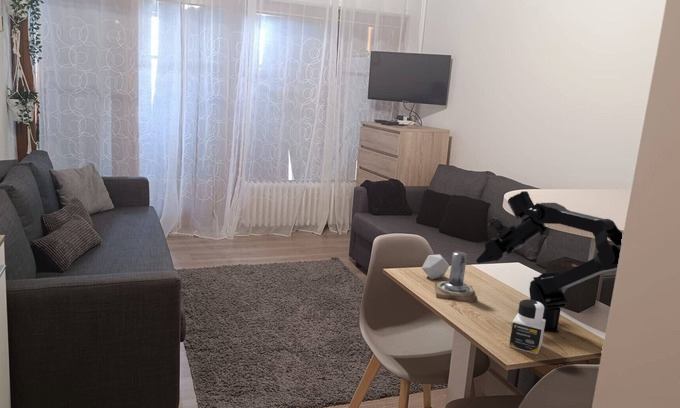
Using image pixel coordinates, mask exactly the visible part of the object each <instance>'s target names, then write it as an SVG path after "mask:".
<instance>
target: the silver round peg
mask: <svg viewBox="0 0 680 408" xmlns="http://www.w3.org/2000/svg"><path fill="white" fill-rule="evenodd" d="M467 257H468V253H466V252H463V251H453V252H452V258H451V264H450V270H449V273H450V274H449V279H447V280H444V281H445V285H444V289H445V290H448V291H452V292H459V293H463V292H466V290H467V285H468V284H467V283H465V282H464V279H465V274H466V266H467V265H466V264H467ZM466 284H467V285H466Z"/></svg>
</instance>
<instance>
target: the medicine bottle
mask: <svg viewBox="0 0 680 408" xmlns="http://www.w3.org/2000/svg"><path fill="white" fill-rule="evenodd" d="M518 304H519V305H518V309H517V310H518V311H517V314H516V316H515V317H514V319H513V320H512V324H511V329H510V337H509V344H508V346H509V348H512V349H516V350H520V351H523V352H527V353H531V354H533V355H534V354H535V355H538V354H539V352H540V349H541V347H542V344H543V340H544V333H545V330H544V327H545V321H546V320H545V319H543V313H544V306H543V304H541V303H540V302H538V301H535V300H530V299H523V300H520V301H519V303H518Z"/></svg>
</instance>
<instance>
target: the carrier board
mask: <svg viewBox="0 0 680 408" xmlns="http://www.w3.org/2000/svg"><path fill="white" fill-rule="evenodd" d="M445 281H446V280H444V281H434V288H435V297H436V298H439V299H447V300H454V301H455V300H456V301H462V302H463V301H464V302H471V303H476V300H477V299H476V294H475V291H474V287H473V285H468V284H467V283H465V284H466V285H467V290H466V292H463V293H459V292H452V291H448V290H445V289H444V285H445Z"/></svg>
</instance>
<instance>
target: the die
mask: <svg viewBox="0 0 680 408" xmlns="http://www.w3.org/2000/svg"><path fill="white" fill-rule="evenodd" d="M449 267H451V264H449V263H448V262H447V261H446V259H445V258H444V257H443V255H442V254H439V253H438V254H430V255H429V254H428V256H427V258H426V259H425V261H424V262H423V264H422V266H421V270H423V271H424V273H425V274H426V275H427V277H429V279H430V280H436V279H443V278H444V276H445V275H446V273H447V271H448V269H449Z"/></svg>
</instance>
